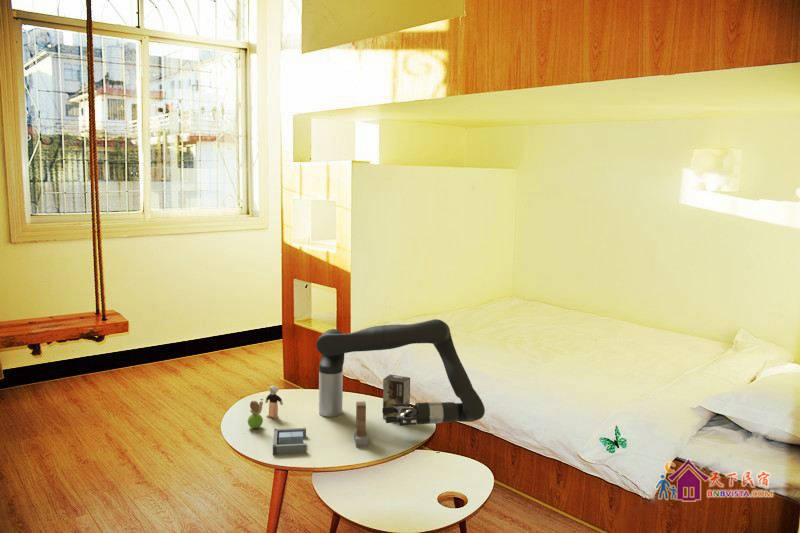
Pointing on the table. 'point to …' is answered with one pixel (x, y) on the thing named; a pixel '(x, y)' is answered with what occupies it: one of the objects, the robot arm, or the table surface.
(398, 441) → the table surface
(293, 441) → the block
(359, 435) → the tall wooden pillar
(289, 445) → the grey u-shaped wall
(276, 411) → the grandmother figurine
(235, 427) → the table surface
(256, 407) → the snail figurine
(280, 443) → the block
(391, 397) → the coffee box
